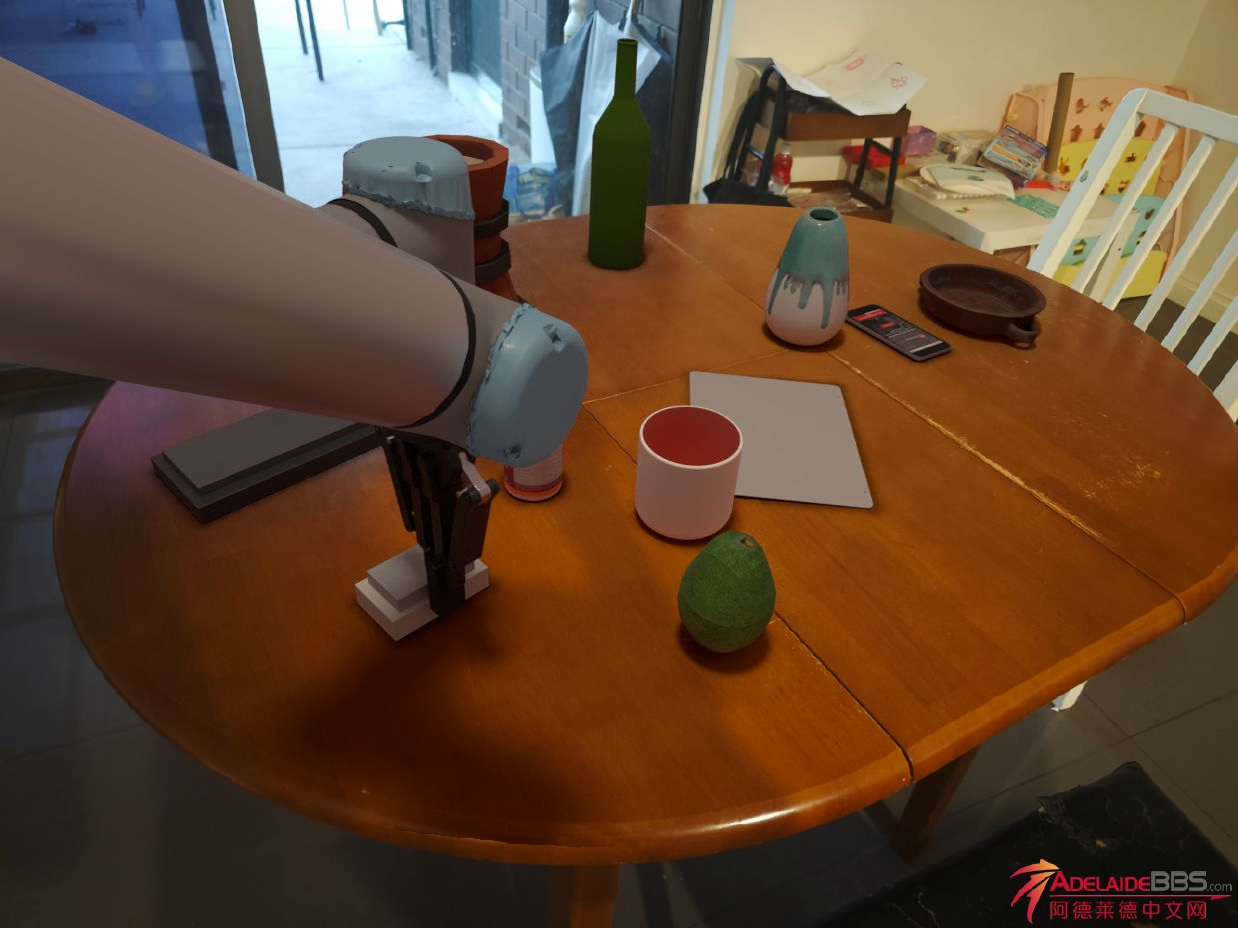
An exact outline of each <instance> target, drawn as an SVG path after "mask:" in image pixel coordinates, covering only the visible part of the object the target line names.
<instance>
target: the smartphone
mask: <svg viewBox="0 0 1238 928" xmlns="http://www.w3.org/2000/svg"><path fill="white" fill-rule="evenodd" d="M845 321H847V322H849V323H850V324H852V325H854V326H855V327H857V328H859V329H861V330H862V331H864V332H866V333H867V334H869V335H871V336H873V337H874V338H876V339H877V340H879V341H881V342H883V343H885V344H886V345H888V346H890V347H892V348H893V349H895V350H896V351H898V352H900V353H902V354H903V355H905V356H907V357H908V358H910V359H912V360H914V361H915V362H922V361H924V360H927V359H930V358H933V357H936V356H939V355H941V354H944V353H947V352H950V351H951V350H952V347H953V346H952V344H950V343H949V342H947V341H945V340H943V339H942V338H939V337H938V336H936V335H934V334H933V333H931V332H929V331H927V330H925V329H923V328H921V327H920V326H917V325H916V324H915V323H912V322H910V321H908V320H907V319H905V318H903V317H901V316H899V315H897V314H896V313H894V312H892V311H890V310H888V309H887V308H885V307H883V306H881V305H879V304H877V303H871V304H868V305H864V306H860V307H856V308H853V309H850V310H848V313H847V317H846V320H845Z"/></svg>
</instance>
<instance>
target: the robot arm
mask: <svg viewBox="0 0 1238 928" xmlns="http://www.w3.org/2000/svg"><path fill="white" fill-rule="evenodd" d="M350 149H351V150H349V149H348V150H349V151H348V150H347V151H348V152H347V151H346V152H347V153H346V155H345V156H344V159H343V158H342V180H341V181H340V183H341V186H342V185H343V188H344V190H345V195H343V196H342V195H341V196H339V197H336V198H333V199H331V200H329V201H327V202H326V203H325V204H323V205H321V206H317V207H313V206H311V205H309V204H307V203H305V202H303V201H301V200H299V199H297V198H295V197H293V196H291V195H288V194H286V193H285V192H283V191H281V190H278V189H276V188H274V187H272V186H270V185H268V184H265V183H264V182H262V181H259V180H257V179H255V178H253V177H252V176H249V175H247V174H245V173H243V172H240V171H239V170H236V169H235V168H232V167H230V166H228V165H226V164H224V163H222V162H220V161H218V160H217V159H214V158H211V157H210V156H207V155H205V154H203V153H201V152H199V151H197V150H195V149H193V148H192V147H188V145H185V144H182V143H180V142H178V141H177V140H174V139H172V138H170V137H168V136H166V135H163V134H162V133H160V132H157V131H155V130H153V129H151V128H149V127H147V126H145V125H143V124H141V123H140V122H137V121H134V120H132V119H131V118H129V117H126V116H124V115H123V114H120V113H118V112H116V111H114V110H112V109H110V108H108V107H106V106H103V105H101V104H99V103H97V102H95V101H93V100H91V99H89V98H87V97H85V96H83V95H81V94H78V93H76V92H75V91H72V90H70V89H69V88H66V87H64V86H62V85H60V84H58V83H56V82H54V81H52V80H49V79H48V78H46V77H43V76H41V75H39V74H37V73H35V72H33V71H32V70H29V69H27V68H24V67H22V66H20V65H18V64H16V63H15V62H12V61H10V60H8V59H6V58H4V57H2V56H0V361H1V362H6V363H12V364H18V365H24V366H30V367H35V368H41V369H46V370H47V369H48V370H52V371H59V372H64V373H71V374H75V375H76V374H77V375H80V376H81V375H82V376H87V377H92V378H94V377H95V378H99V379H105V380H110V381H111V380H112V381H117V382H123V383H129V384H134V385H139V386H140V385H141V386H146V387H153V388H157V389H165V390H169V391H175V392H181V393H186V394H192V395H193V394H194V395H198V396H205V397H210V398H217V399H221V400H227V401H233V402H239V403H245V404H251V405H257V406H262V407H263V406H264V407H269V408H273V407H274V408H280V409H285V410H291V411H297V412H303V413H309V414H315V415H320V416H326V417H332V418H338V419H344V420H349V421H355V422H361V423H367V424H373V425H374V429H375V432H376V434H377V436H378V438H379V441H380V443H381V445H380V446H381V448H382V449H383V453H384V456H385V460H386V464H387V467H388V472H389V475H390V479H391V483H392V486H393V490H394V493H395V498H396V501H397V504H398V508H399V512H400V517H401V520H402V523H403V527H404V529H405V530H406V531H407V532H408V533H410V534H411V533H413V532H415V536H416V543H417V544H419V546H420V547H421V548H422V549H423V553H424V560H425V561H424V562H425V567H426V574H427V583H428V592H429V601H430V609H431V610H432V611H434V612H435V613H436V614H437V615H438V617H439V618H440V619H441V618H443V617H444V616H445V615H447V614H449V613H451V612H453V611H454V610H456V609H457V608H459V607H461V606H462V605H464V604H465V603H466V602H467V599H466V597H465V582H466V577H465V566H466V565H468V564H470V563H472V562H473V561H475V560H477V559H480V558H482V556H483V552H484V547H485V542H486V541H485V540H486V535H487V529H488V523H489V519H490V513H491V508H492V503H493V500H494V499H495V498H496V497H497V495H498V494H499V493H500V490H501V488H500V485H499V482H498V481H497V480H496V479H495V478H493V477H490V478H488V479H487V480H486V479H484V478H483V476H482V475H481V474H480V473H479V471H478V469H477V467H476V466H475V465H476V462H477V458H481V457H483V458H485V459H489V460H491V461H494V462H496V463H499V464H502V465H503V466H504V465H507V466H510V467H515V468H525V467H530V466H532V465H535V464H537V463H539V462H541V461H543V460H545V459H546V458H547V457H549V456H550V455H551V454H552V453H553V452H554V451H555V450H556V449H557V448H558V447H559V446H560V445H561V443H562V442H563V443H564V441H565V439H566V438H567V436H568V435H569V434H570V432H571V430H572V429H573V426H574V425H575V423H576V421H577V418H578V414H579V412H580V411H581V407H582V405H583V402H584V399H585V396H586V393H587V388H588V382H589V373H590V370H589V369H590V365H589V354H588V349H587V346H586V343H585V342H584V339H583V338H582V336H581V334H580V333H579V331H578V330H577V329H576V328H575V327H574V326H572V325H571V324H570V323H568V322H566V321H564V320H562V319H560V318H558V317H554V316H552V315H551V314H548V313H545V312H543V311H540V310H539V309H538V308H537V306H535V305H532V304H531V303H530V304H531V305H530V304H527V303H523V304H519V303H517V302H514V301H511V300H508V299H506V298H503V297H501V296H498V295H495V294H493V293H490V292H488V291H486V290H483V289H481V288H479V287H477V286H475V267H474V231H473V220H475V213H474V211H473V205H472V198H471V190H470V182H469V174H468V167H467V163H466V161H465V159H464V157H463V156H462V154H461V153H460V152H459V151H458V150H456V149H455V148H454V147H452V146H450V145H448V144H446V143H443V142H440V141H436V140H433V139H429V138H423V137H422V136H411V135H393V136H382V137H376V138H371V139H367V140H363V141H361V142H359V143H356V144H355V145H354V146H353V147H352V148H350ZM343 176H344V178H343ZM538 310H539V311H538Z"/></svg>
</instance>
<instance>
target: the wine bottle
mask: <svg viewBox="0 0 1238 928" xmlns="http://www.w3.org/2000/svg"><path fill="white" fill-rule="evenodd" d="M638 49H639V40H637V39H634V38H629V37H626V38H625V37H623V38H618V39H617V40H616V54H615V55H616V57H615V73H614V86H613V96H612V97H611V100H610V102H609V103H608V105H607V106H606V108H605V109H604V111H603V113H601V115H600V117H599V118H598V120H597V121H596V123H595V124H594V128H593V133H592V138H591V139H592V140H591V163H590V164H591V165H590V190H589V191H590V193H589V222H588V223H589V225H588V228H589V229H588V246H587V248H588V250H587V251H588V252H587V257H588V259H589V261H590V263H592V264H593V265H595V266H596V267H599V268H601V269H605V270H612V271H613V270H614V271H624V270H630V269H634V268H637V267H639V265H641V263H642V261H643V259H644V249H645V248H644V246H645V236H646V235H645V234H646V220H647V211H648V210H647V208H648V207H647V206H648V195H649V183H650V182H649V181H650V169H651V155H652V145H653V144H652V143H653V139H652V131H651V127H650V125H649V123H648V121H647V119H646V117H645V115H644V112H643V110H642V108H641V107H640V104H639V102H638V101H637V98H636V90H637V71H638V70H637V68H638Z"/></svg>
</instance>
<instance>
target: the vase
mask: <svg viewBox="0 0 1238 928" xmlns="http://www.w3.org/2000/svg"><path fill="white" fill-rule="evenodd" d="M848 235H849V233H848V229H847V225H846V221H845V219H844V216H843V215H842V214H841V212H840V211H839V210H837V209H836V208H833V207H830V206H823V205H818V206H817V205H816V206H811V207H810V208H808V209H806V210H805V211H804V212H803V213H802V214H801V215H800V216H799V218H797V220H796V222H795V224H794V226H793V228H792V229H791V232H790V234H789V237H788V239H787V241H786V244H785V246H784V249H783V251H782V253H781V255H780V257H779V259H778V262H777V264H776V266H775V268H774V271H773V272H772V275H771V276H770V278H769V281H768V284H767V287H766V290H765V294H764V298H763V306H762V307H763V308H762V309H763V310H762V311H763V316H764V320H765V322H766V325H767V327H768V328H769V330H770V331H771V333H773V335H775V336H776V338H778V339H780V340H781V341H784V342H786V343H789V344H791V345H795V346H803V347H812V346H817V345H821V344H824V343H826V342H828V341H830V340H831V339H832V338H833V337H835V336H836V335H837V334H838V333H839V332H840V331H841V329H842V328H843V326H844V324H845V323H846V321H847V320H846V317H847V313H848V311H849V308H850V297H851V294H850V293H851V292H850V291H851V289H850V287H851V286H850V285H851V283H850V280H851V279H850V278H851V277H850V274H851V272H850V261H849V259H850V258H849V255H850V254H849V236H848Z"/></svg>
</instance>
